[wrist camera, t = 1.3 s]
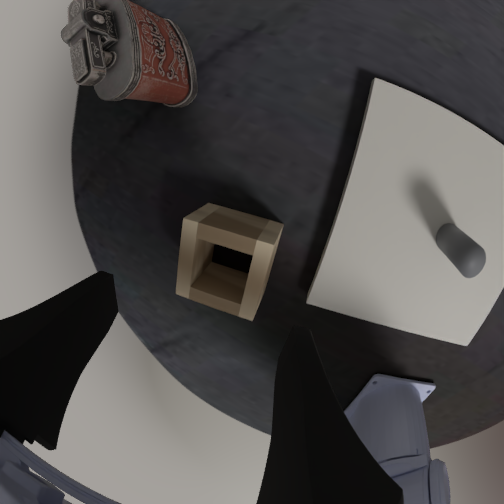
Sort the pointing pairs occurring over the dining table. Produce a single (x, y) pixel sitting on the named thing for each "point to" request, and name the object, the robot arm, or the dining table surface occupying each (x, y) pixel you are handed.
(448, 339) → the post board
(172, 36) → the lighter
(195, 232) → the maple sleeve
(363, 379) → the dining table surface
